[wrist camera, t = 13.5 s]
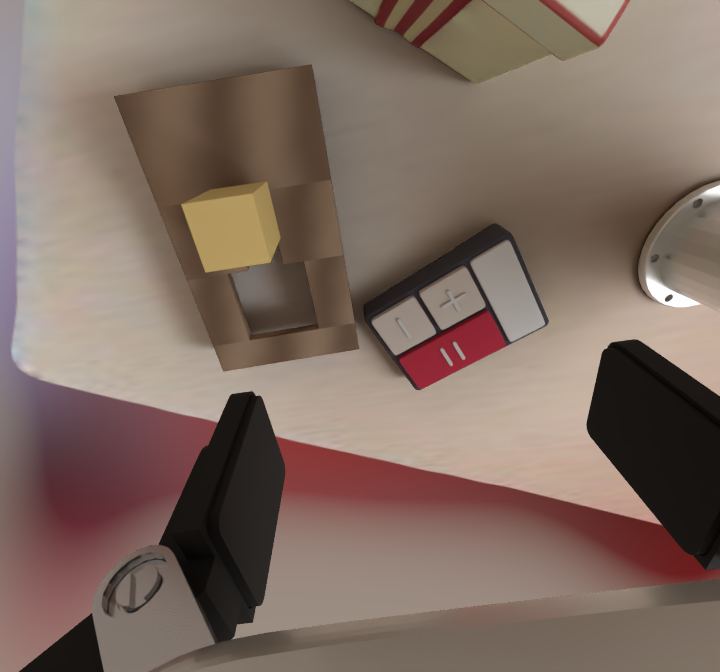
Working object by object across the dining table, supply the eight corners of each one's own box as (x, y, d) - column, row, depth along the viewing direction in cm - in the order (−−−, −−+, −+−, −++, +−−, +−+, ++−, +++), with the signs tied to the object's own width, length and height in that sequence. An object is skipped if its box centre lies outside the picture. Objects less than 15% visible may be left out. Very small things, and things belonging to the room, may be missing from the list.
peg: (280, 166, 30) (259, 182, 20) (293, 227, 33) (280, 269, 23) (220, 175, 30) (168, 196, 20) (238, 235, 32) (200, 281, 22)
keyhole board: (313, 73, 27) (311, 64, 24) (355, 329, 38) (359, 348, 35) (140, 100, 27) (113, 96, 24) (232, 349, 38) (223, 371, 34)
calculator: (362, 322, 34) (514, 233, 30) (360, 302, 38) (496, 220, 34) (418, 396, 39) (554, 328, 35) (411, 372, 43) (534, 308, 39)
